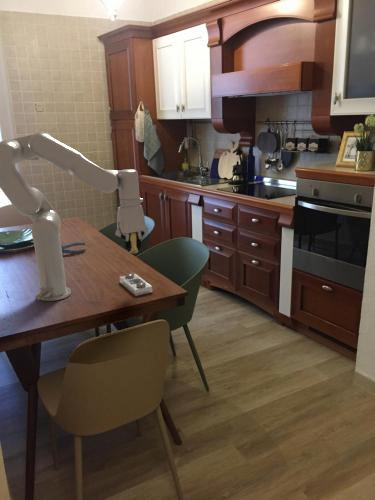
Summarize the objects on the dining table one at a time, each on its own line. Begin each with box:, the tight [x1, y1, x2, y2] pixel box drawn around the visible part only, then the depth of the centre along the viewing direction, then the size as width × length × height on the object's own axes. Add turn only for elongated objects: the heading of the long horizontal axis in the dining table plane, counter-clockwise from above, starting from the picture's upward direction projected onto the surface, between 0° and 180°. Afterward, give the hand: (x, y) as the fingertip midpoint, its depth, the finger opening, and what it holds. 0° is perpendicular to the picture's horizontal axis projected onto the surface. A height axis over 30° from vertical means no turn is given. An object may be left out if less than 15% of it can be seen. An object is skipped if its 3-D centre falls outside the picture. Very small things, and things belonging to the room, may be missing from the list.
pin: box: [128, 232, 139, 254], centre depth 169 cm, size 3×3×8 cm
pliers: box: [61, 241, 87, 255], centre depth 219 cm, size 20×2×6 cm, turn 113°
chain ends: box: [119, 272, 153, 297], centre depth 174 cm, size 17×7×4 cm, turn 29°
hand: (133, 249), depth 170 cm, fingers closed on pin, 3 cm apart
